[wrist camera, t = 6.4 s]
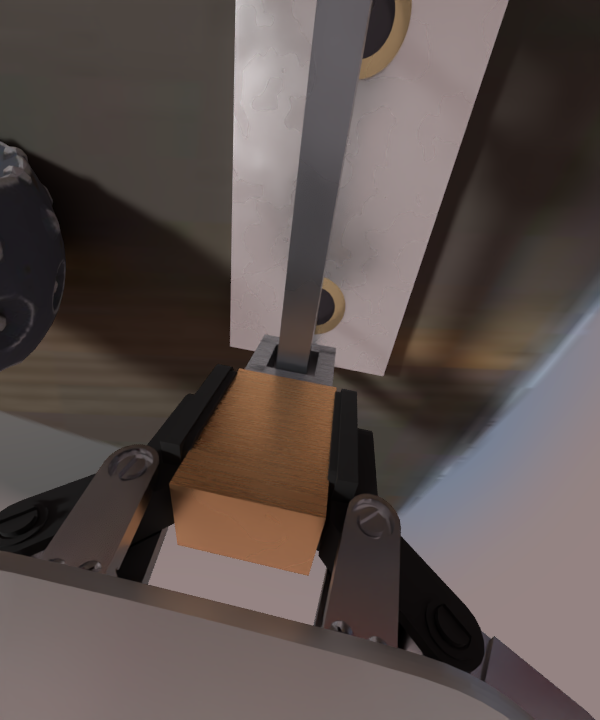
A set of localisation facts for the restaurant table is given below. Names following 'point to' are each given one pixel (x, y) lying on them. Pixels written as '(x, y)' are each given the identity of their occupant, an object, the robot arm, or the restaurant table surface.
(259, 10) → the switch panel
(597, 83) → the restaurant table surface
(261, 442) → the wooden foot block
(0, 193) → the ring
